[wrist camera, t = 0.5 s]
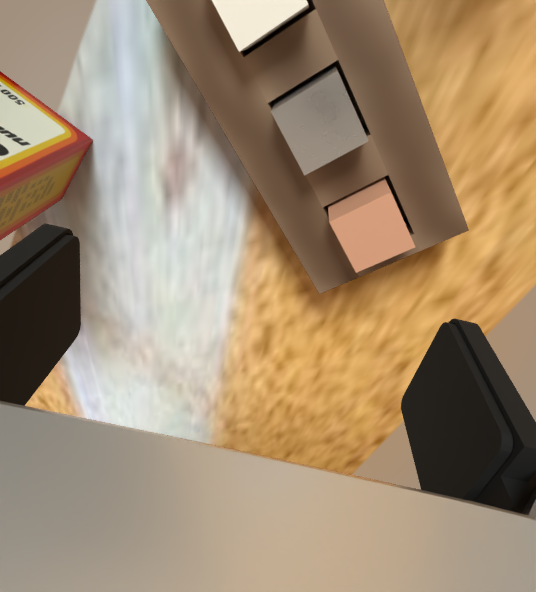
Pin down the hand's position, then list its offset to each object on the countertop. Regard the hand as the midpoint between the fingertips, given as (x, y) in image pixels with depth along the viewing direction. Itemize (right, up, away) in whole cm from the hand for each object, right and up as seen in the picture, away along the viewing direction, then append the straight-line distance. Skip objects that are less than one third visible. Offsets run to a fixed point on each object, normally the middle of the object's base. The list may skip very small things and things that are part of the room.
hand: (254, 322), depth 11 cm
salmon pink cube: (+8, +7, +22) cm, 24 cm away
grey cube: (+4, +13, +18) cm, 23 cm away
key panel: (+4, +15, +21) cm, 26 cm away
